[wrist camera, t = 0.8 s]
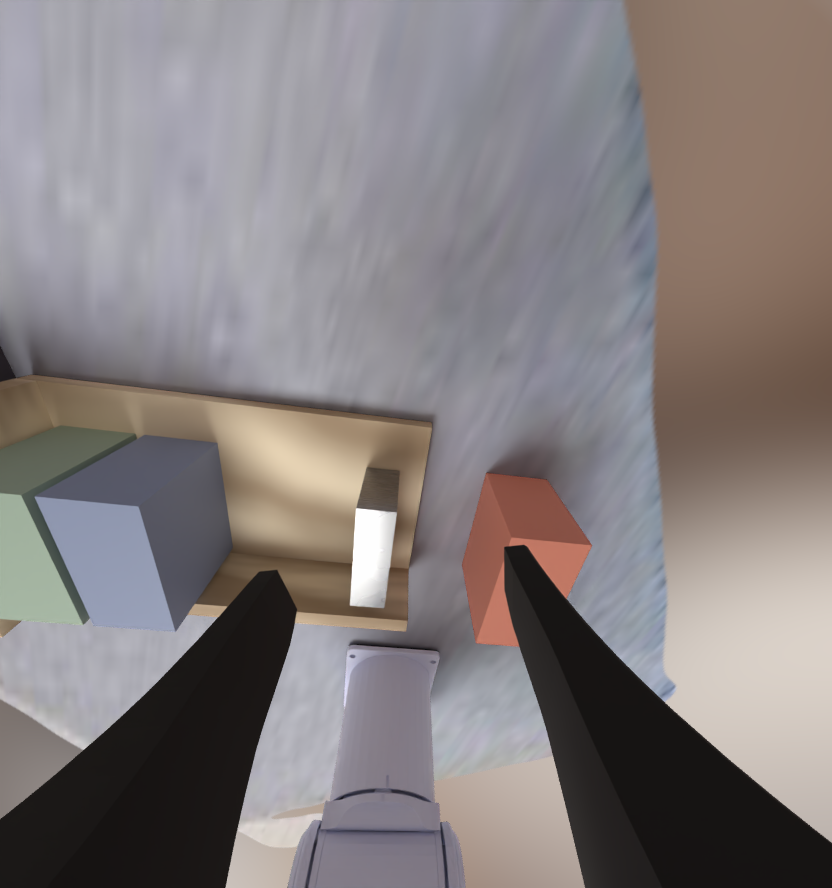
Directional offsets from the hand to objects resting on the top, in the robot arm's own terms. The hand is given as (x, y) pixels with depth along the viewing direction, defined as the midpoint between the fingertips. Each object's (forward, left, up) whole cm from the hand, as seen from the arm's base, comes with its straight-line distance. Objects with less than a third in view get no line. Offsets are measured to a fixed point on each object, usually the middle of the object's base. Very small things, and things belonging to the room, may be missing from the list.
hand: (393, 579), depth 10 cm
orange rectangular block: (-6, -8, -10) cm, 14 cm away
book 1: (-5, +17, -10) cm, 20 cm away
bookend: (-5, +1, -10) cm, 11 cm away
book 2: (-5, +13, -10) cm, 17 cm away
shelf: (-5, +9, -10) cm, 15 cm away
